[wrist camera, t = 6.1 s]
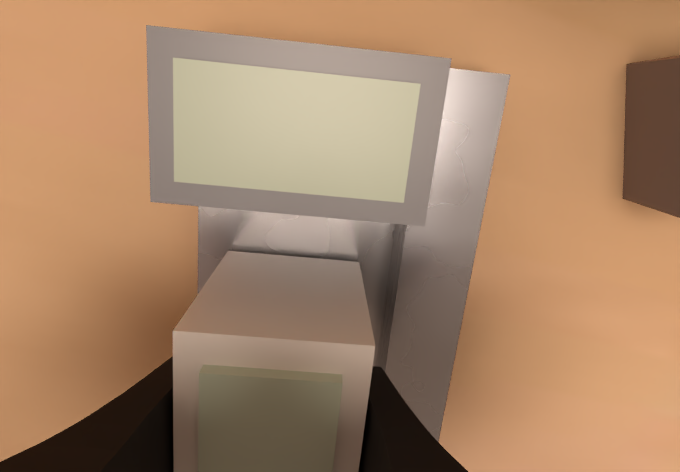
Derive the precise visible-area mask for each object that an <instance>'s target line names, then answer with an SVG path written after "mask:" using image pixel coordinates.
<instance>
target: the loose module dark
mask: <svg viewBox="0 0 680 472" xmlns="http://www.w3.org/2000/svg"><path fill="white" fill-rule="evenodd" d="M623 199H626V200H629V201H632V202H635V203H638V204H641V205H644V206H647V207H649V208H652V209H655V210H658V211H661V212H664V213H667V214H670V215H673V216H676V217H679V218H680V55H679V56H673V57H667V58H661V59H655V60H648V61H642V62H636V63H630V64H627V68H626V103H625V138H624V173H623Z"/></svg>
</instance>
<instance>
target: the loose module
mask: <svg viewBox="0 0 680 472" xmlns="http://www.w3.org/2000/svg"><path fill="white" fill-rule="evenodd" d="M374 353H375V341H374V336H373V331H372V326H371V320H370V315H369V310H368V305H367V300H366V295H365V289H364V284H363V279H362V274H361V269H360V264H359V262H354V261H342V260H331V259H319V258H307V257H295V256H284V255H272V254H260V253H248V252H237V251H228V252H227V253H226V254H225V256H224V257H223V259H222V260H221V262H220V263H219V265H218V266H217V267H216V269H215V270H214V272H213V273H212V275H211V276H210V278H209V279H208V280H207V282H206V283H205V285H204V286H203V288H202V289H201V291H200V292H199V293H198V295H197V296H196V298H195V299H194V301H193V302H192V304H191V305H190V306H189V308H188V309H187V311H186V312H185V314H184V315H183V317H182V318H181V319H180V321H179V322H178V324H177V325H176V327H175V328H174V330H173V456H174V472H358V471H359V464H360V457H361V449H362V442H363V434H364V427H365V420H366V412H367V405H368V397H369V390H370V383H371V375H372V368H373V361H374Z"/></svg>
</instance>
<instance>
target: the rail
mask: <svg viewBox="0 0 680 472" xmlns="http://www.w3.org/2000/svg"><path fill="white" fill-rule="evenodd" d="M509 79H510V75H509V74H499V73H490V72H481V71H472V70H462V69H453V68H450V71H449V78H448V84H447V90H446V96H445V103H444V109H443V115H442V122H441V128H440V134H439V140H438V147H437V153H436V159H435V166H434V172H433V178H432V184H431V191H430V197H429V203H428V210H427V216H426V222H425V226H414V225H402V224H391V223H380V222H369V221H358V220H347V219H336V218H325V217H313V216H302V215H291V214H280V213H269V212H258V211H247V210H236V209H224V208H213V207H202V206H198V293H199V292H200V291H201V289H202V288H203V286H204V285H205V283H206V282H207V280H208V279H209V278H210V276H211V275H212V273H213V272H214V270H215V269H216V267H217V266H218V265H219V263H220V262H221V260H222V259H223V257H224V256H225V254H226V253H227V252H228V251H237V252H248V253H260V254H272V255H284V256H295V257H307V258H319V259H331V260H342V261H354V262H359V264H360V269H361V274H362V279H363V284H364V289H365V295H366V300H367V305H368V310H369V315H370V320H371V326H372V331H373V336H374V341H375V353H374V361H373V366H376V367H382V369H383V370H384V371H385V373H386V374H387V376H388V377H389V379H390V380H391V382H392V383H393V385H394V386H395V388H396V389H397V391H398V392H399V394H400V395H401V396H402V398H403V399H404V401H405V402H406V403H407V405H408V406H409V407H410V409H411V410H412V411H413V412H414V414H415V415H416V416H417V418H418V419H419V420H420V422H421V423H422V424H423V425H424V426H425V428H426V429H427V430H428V431H429V432H430V433H431V435H432V436H433V437H434V438H435V439H436V440H437V441H439V436H440V431H441V425H442V420H443V415H444V410H445V405H446V400H447V395H448V390H449V385H450V380H451V375H452V369H453V364H454V359H455V354H456V349H457V344H458V339H459V334H460V329H461V324H462V319H463V313H464V308H465V303H466V298H467V293H468V288H469V283H470V278H471V273H472V268H473V263H474V257H475V252H476V247H477V242H478V237H479V232H480V227H481V222H482V217H483V212H484V206H485V201H486V196H487V191H488V186H489V181H490V176H491V171H492V166H493V161H494V156H495V150H496V145H497V140H498V135H499V130H500V125H501V120H502V115H503V110H504V105H505V100H506V94H507V89H508V84H509Z"/></svg>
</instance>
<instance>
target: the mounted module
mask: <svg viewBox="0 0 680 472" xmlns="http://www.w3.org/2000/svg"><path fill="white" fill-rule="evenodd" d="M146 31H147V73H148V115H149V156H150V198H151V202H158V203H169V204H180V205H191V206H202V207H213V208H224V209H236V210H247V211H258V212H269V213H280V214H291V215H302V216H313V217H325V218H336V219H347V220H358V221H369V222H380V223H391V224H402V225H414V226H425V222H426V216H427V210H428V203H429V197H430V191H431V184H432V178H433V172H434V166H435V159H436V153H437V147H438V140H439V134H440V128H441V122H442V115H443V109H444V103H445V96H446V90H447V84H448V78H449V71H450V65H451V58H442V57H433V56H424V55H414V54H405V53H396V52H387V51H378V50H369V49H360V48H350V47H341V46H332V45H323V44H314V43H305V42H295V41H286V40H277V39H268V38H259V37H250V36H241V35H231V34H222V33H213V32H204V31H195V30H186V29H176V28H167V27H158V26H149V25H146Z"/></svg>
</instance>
